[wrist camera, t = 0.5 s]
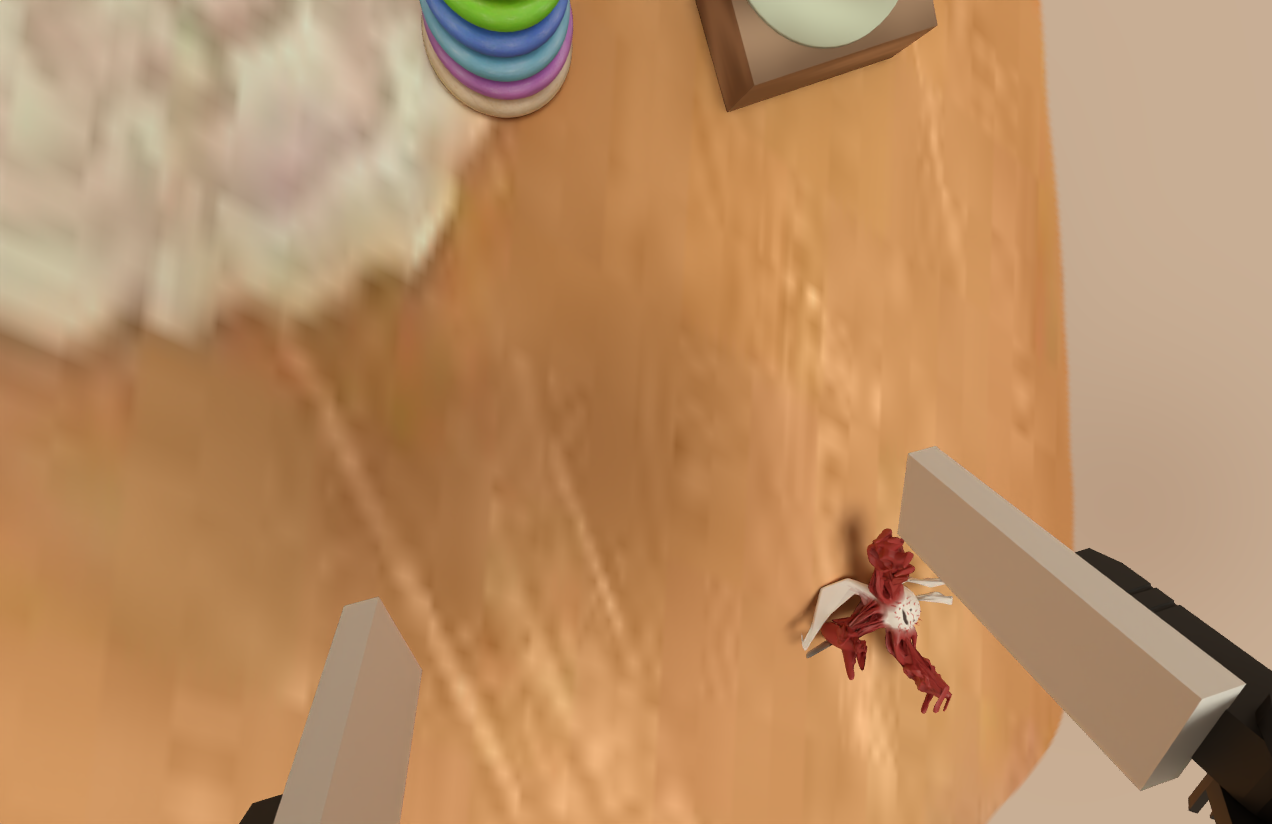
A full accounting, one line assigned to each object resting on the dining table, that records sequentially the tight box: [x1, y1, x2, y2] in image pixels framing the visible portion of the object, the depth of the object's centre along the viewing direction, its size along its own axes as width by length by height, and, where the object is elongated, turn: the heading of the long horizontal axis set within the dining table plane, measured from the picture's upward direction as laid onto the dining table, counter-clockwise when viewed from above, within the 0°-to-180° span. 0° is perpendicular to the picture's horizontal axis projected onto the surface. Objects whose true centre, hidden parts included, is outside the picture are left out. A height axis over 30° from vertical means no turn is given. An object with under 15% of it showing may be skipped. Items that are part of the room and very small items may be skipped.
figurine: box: [802, 529, 953, 714], centre depth 39 cm, size 15×12×7 cm
